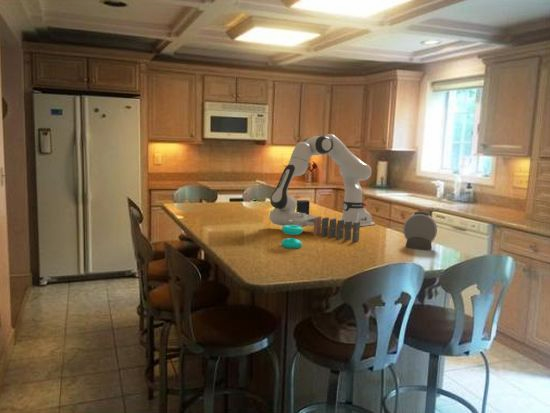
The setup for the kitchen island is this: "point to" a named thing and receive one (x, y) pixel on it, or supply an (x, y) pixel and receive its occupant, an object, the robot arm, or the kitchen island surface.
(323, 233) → the domino
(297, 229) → the donuts
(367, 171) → the robot arm
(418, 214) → the alarm clock
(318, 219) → the domino
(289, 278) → the kitchen island surface
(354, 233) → the domino
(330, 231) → the domino
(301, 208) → the box
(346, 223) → the domino
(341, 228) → the domino
